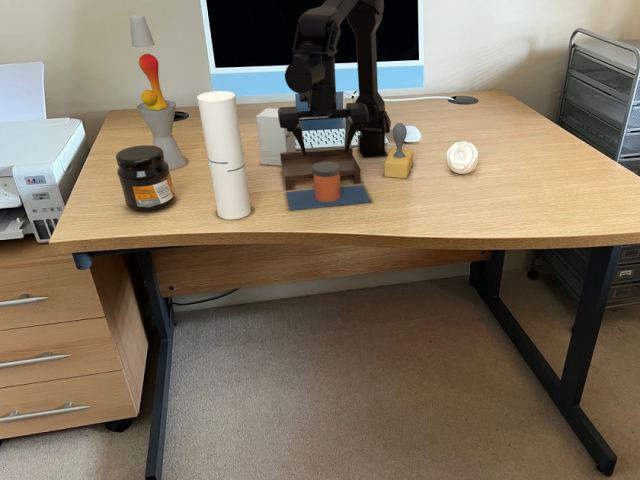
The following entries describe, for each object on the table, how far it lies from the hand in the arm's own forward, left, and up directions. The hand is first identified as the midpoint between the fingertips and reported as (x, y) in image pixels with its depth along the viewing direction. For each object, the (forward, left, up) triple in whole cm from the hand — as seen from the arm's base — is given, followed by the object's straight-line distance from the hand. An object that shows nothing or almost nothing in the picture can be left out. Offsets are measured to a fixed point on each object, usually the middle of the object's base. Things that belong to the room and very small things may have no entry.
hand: (325, 153), depth 127 cm
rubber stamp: (-20, -12, -11) cm, 26 cm away
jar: (0, 0, -10) cm, 10 cm away
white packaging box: (+9, -25, -11) cm, 29 cm away
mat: (0, 0, -10) cm, 11 cm away
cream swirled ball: (-35, -7, -11) cm, 37 cm away
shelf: (0, -12, -10) cm, 16 cm away
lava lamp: (+37, -29, -11) cm, 48 cm away
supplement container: (+39, -5, -11) cm, 41 cm away
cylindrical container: (+21, +3, -11) cm, 24 cm away
